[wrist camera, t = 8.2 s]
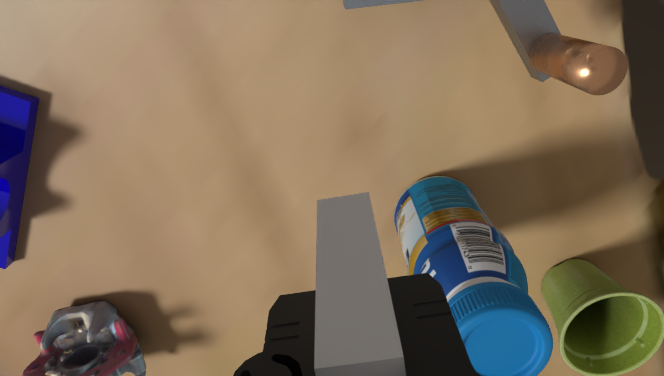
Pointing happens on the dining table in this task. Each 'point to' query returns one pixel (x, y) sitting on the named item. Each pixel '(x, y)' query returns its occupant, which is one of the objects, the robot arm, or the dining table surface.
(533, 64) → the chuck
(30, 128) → the mounting bracket
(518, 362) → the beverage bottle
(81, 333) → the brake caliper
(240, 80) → the dining table surface
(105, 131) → the dining table surface
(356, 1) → the stand
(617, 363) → the plant pot
